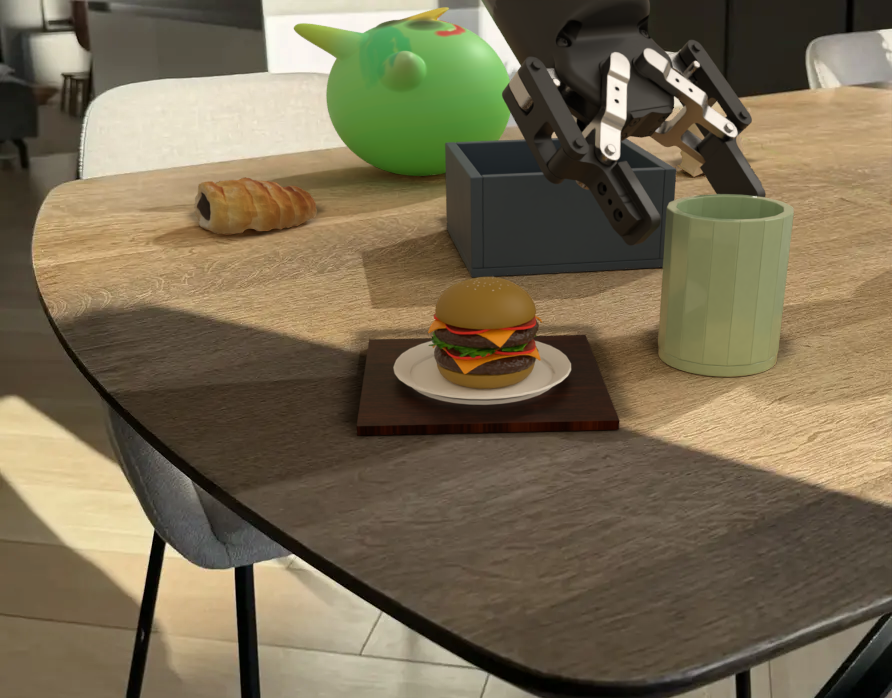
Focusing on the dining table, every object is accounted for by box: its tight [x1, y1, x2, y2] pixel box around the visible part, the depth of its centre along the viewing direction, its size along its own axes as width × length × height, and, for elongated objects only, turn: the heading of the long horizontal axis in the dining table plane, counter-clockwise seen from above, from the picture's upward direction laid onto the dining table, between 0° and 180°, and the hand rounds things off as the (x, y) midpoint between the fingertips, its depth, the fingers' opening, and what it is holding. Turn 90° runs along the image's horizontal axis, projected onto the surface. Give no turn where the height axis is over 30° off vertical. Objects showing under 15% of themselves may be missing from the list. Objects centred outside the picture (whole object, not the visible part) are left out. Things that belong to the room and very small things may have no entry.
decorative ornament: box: [677, 107, 752, 178], centre depth 105 cm, size 4×8×5 cm, turn 116°
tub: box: [657, 193, 795, 378], centre depth 58 cm, size 6×6×8 cm
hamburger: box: [356, 276, 620, 436], centre depth 55 cm, size 12×12×6 cm
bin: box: [445, 137, 677, 278], centre depth 80 cm, size 14×14×7 cm
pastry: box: [194, 177, 318, 236], centre depth 88 cm, size 9×7×4 cm
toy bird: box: [293, 6, 511, 177], centre depth 103 cm, size 18×17×15 cm
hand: (701, 222), depth 58 cm, fingers open, 8 cm apart
